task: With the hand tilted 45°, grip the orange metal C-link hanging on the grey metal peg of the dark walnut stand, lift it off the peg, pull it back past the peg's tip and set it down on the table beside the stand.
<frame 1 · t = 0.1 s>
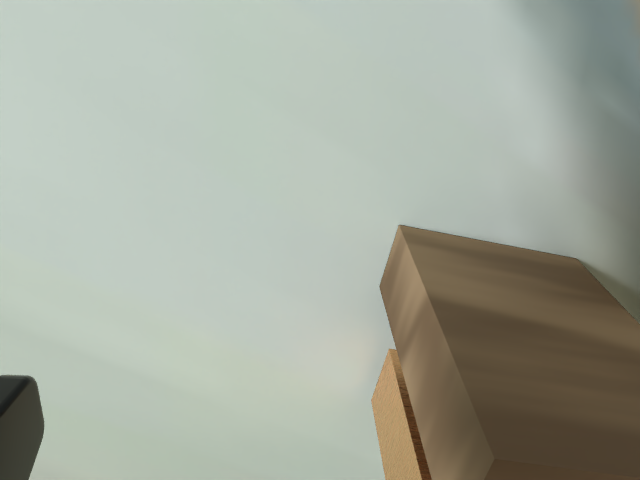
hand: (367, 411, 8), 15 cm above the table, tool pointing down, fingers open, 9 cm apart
C-link: (442, 384, 26), point 1 cm above the table, touching walnut stand
walnut stand: (477, 272, 24), on the table
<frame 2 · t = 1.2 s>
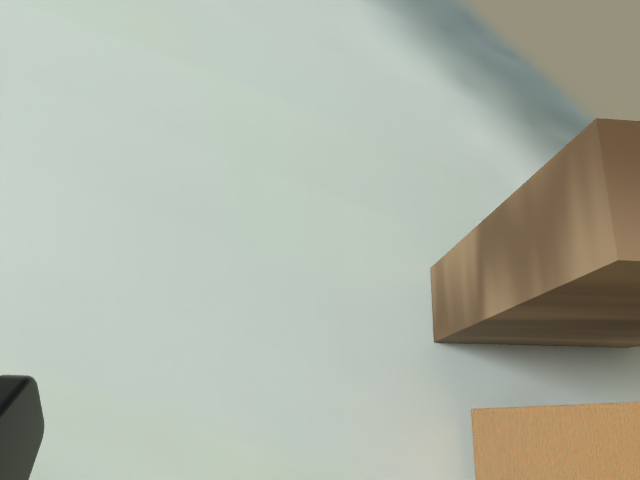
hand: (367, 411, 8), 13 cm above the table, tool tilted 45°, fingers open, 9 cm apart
C-link: (554, 453, 20), point 1 cm above the table, touching walnut stand
walnut stand: (528, 307, 23), on the table
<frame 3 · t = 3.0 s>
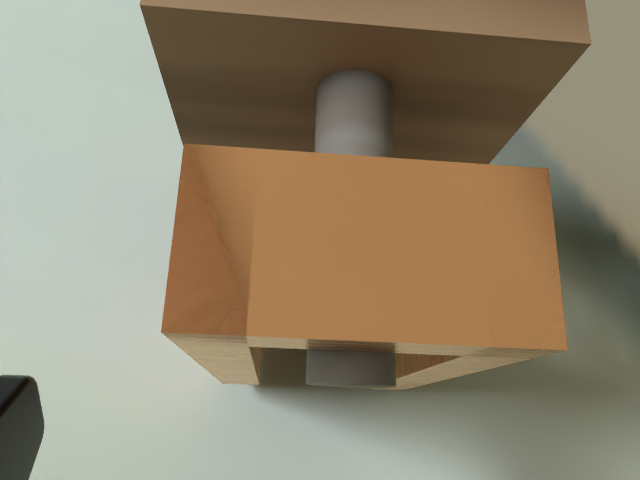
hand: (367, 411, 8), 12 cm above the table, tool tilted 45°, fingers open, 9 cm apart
C-link: (314, 341, 19), point 1 cm above the table, touching walnut stand
walnut stand: (317, 202, 22), on the table
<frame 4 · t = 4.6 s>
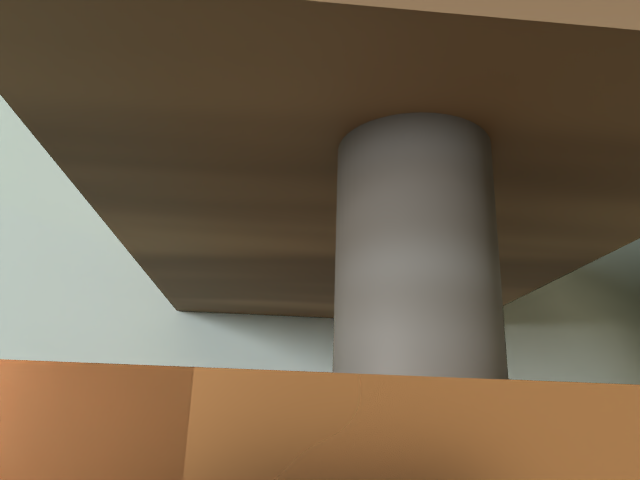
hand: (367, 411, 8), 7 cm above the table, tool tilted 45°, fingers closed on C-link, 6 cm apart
C-link: (323, 478, 13), point 1 cm above the table, touching gripper, walnut stand
walnut stand: (325, 265, 16), on the table
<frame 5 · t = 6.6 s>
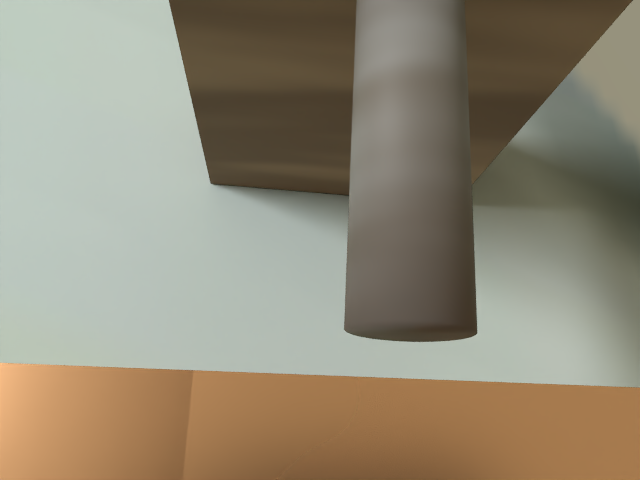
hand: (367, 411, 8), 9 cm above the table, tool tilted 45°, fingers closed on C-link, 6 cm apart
C-link: (322, 479, 13), point 2 cm above the table, touching gripper
walnut stand: (336, 152, 19), on the table
when the fingers open (7 cm above the table, at t = 8.5 s): C-link stays where it is, on the table.
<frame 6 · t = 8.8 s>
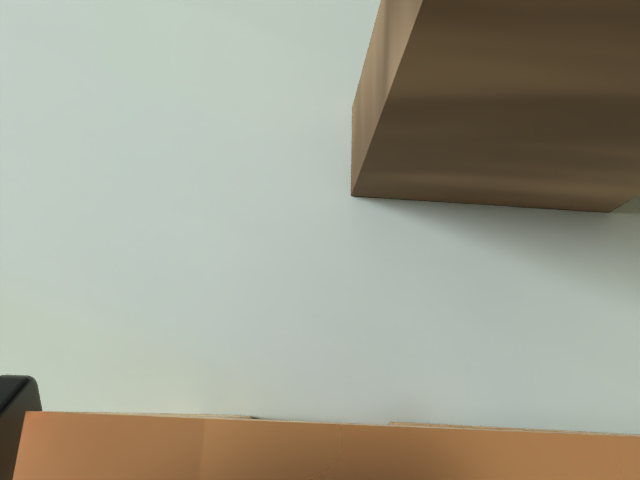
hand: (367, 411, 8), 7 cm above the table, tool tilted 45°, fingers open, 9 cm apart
walnut stand: (479, 159, 17), on the table
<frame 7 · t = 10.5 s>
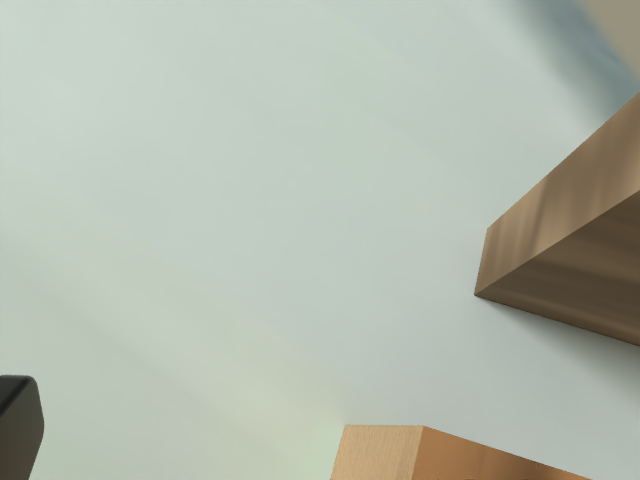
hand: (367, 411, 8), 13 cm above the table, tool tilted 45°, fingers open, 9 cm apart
walnut stand: (573, 289, 23), on the table
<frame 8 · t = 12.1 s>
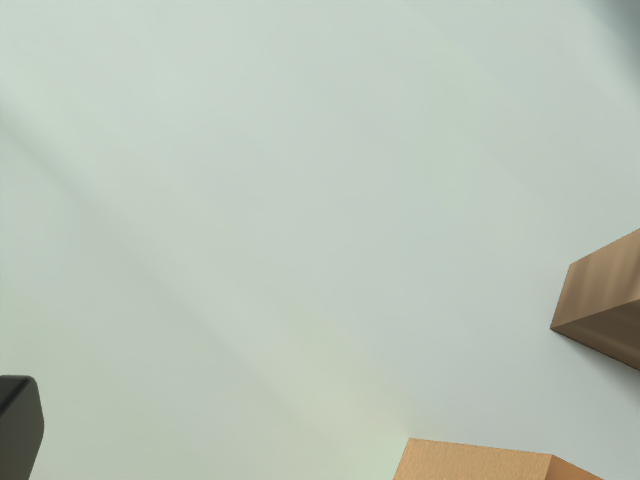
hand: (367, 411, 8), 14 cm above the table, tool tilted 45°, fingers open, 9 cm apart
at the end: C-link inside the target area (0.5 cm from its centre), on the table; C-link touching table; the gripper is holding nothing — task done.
